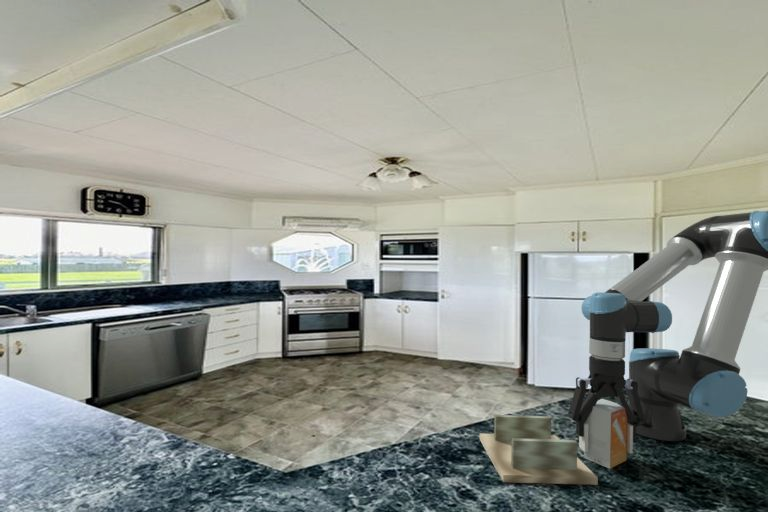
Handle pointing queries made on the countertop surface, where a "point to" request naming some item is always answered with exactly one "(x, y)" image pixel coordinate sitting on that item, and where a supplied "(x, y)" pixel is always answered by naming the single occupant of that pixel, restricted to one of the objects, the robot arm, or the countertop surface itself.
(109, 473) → the countertop surface
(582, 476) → the bookend shelf
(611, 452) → the small box
